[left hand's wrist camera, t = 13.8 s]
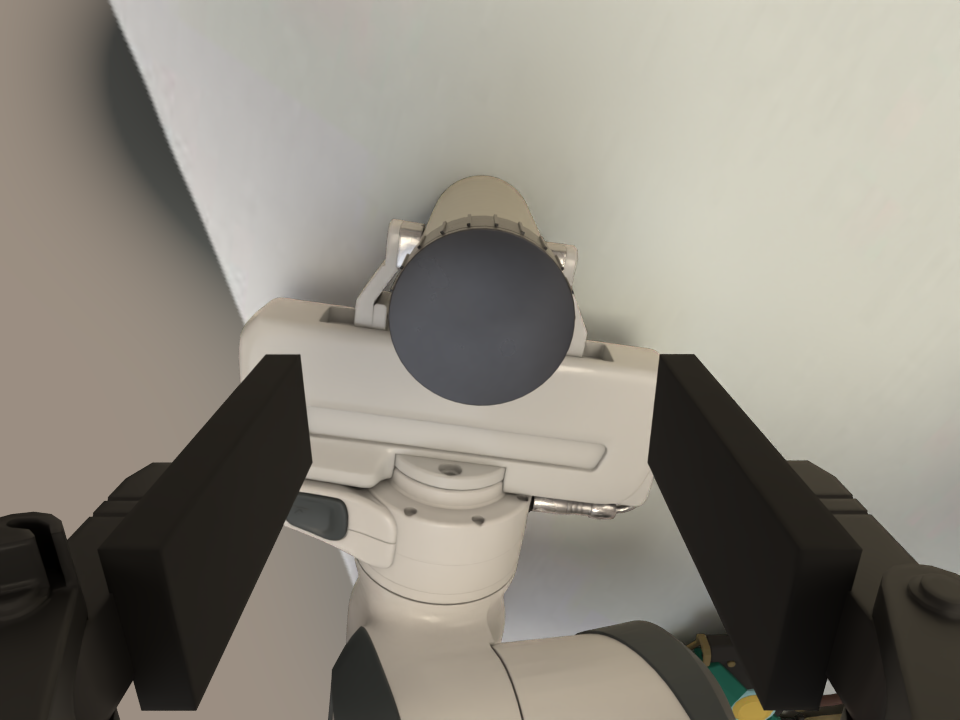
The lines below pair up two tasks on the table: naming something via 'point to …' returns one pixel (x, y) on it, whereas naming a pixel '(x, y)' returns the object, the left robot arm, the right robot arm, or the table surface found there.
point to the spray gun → (742, 680)
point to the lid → (481, 311)
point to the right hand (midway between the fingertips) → (483, 233)
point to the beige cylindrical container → (481, 203)
